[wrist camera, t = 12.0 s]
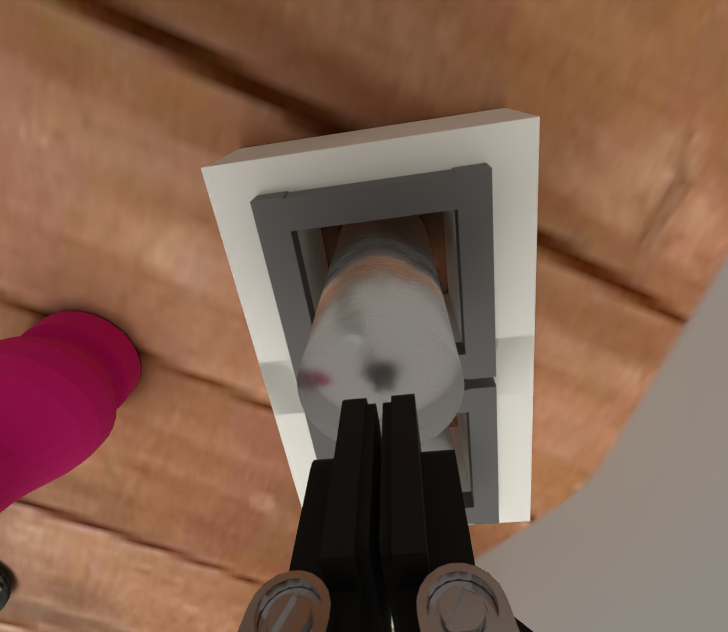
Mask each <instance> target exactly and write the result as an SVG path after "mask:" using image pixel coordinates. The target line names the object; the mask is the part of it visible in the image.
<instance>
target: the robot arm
mask: <svg viewBox="0 0 728 632" xmlns="http://www.w3.org/2000/svg"><path fill="white" fill-rule="evenodd" d="M392 621H393V626H394V630H395V632H533V631H532V630H530V629H529V628H528V627H526V626H525V625H524V624H523V623H521V622H520V621H519V620H517V619H516V618H515V617H514V615H513V613H512V610H511V607H510V605H509V602H508V599H507V597H506V595H505V593H504V591H503V590H502V588H501V586H500V584H499V583H498V582H497V581H496V580H495V579H494V578H493V577H492V576H491V575H490V574H489V573H488V572H485V571H484V570H482V569H481V568H479V567H477V566H475V562H474V556H473V551H472V545H471V539H470V533H469V528H468V522H467V516H466V511H465V505H464V499H463V493H462V488H461V482H460V476H459V470H458V465H457V459H456V454H455V450H454V449H453V450H440V451H426V452H422V451H421V443H420V434H419V426H418V417H417V409H416V401H415V394H404V395H393V396H391V402H385V403H383V405H382V435H381V429H380V423H379V417H378V411H377V406H376V403H373V404H368V401H367V398H359V399H347V400H343V401H342V406H341V413H340V420H339V426H338V433H337V440H336V446H335V453H334V458H332V459H318V460H313V462H312V464H311V468H310V472H309V477H308V482H307V487H306V491H305V496H304V501H303V506H302V511H301V516H300V521H299V525H298V530H297V535H296V540H295V545H294V550H293V554H292V559H291V564H290V569H289V571H288V572H285V573H282V574H279V575H276V576H275V577H273V578H272V579H270V580H269V581H267V582H266V583H265V584H264V585H263V586H262V587H261V588H260V589H259V590H258V591H257V592H256V593H255V595H254V597H253V599H252V600H251V602H250V604H249V606H248V608H247V610H246V613H245V615H244V618H243V620H242V622H241V625H240V627H239V630H238V632H392Z"/></svg>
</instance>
